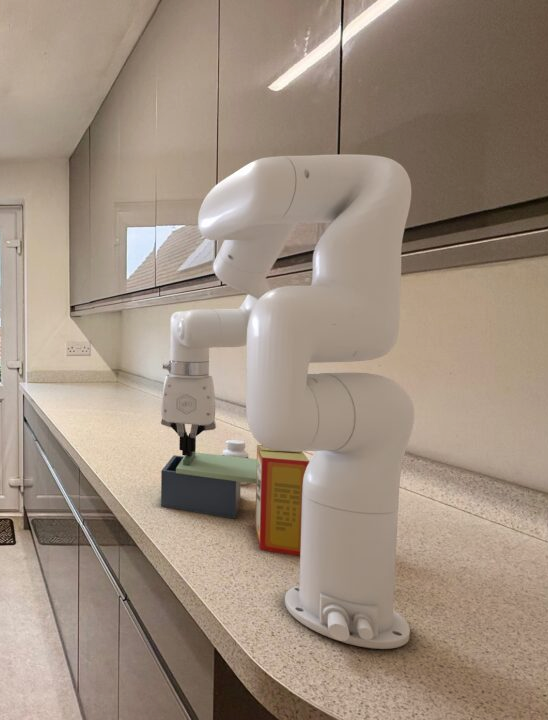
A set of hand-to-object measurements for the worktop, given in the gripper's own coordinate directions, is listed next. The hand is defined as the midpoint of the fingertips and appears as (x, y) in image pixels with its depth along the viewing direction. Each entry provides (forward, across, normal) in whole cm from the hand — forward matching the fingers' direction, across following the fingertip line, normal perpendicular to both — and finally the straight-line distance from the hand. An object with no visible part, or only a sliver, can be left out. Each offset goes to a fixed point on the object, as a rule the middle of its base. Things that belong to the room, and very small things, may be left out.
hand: (187, 454), depth 106 cm
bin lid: (+2, +6, 0) cm, 7 cm away
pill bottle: (+10, +8, +18) cm, 22 cm away
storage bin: (+10, +3, 0) cm, 10 cm away
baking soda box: (+10, +17, -14) cm, 24 cm away
